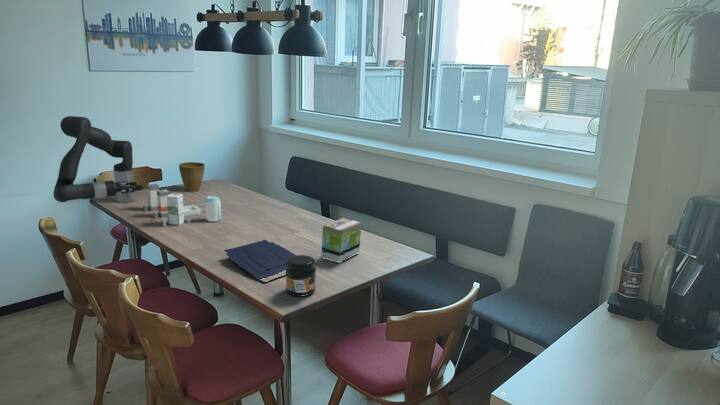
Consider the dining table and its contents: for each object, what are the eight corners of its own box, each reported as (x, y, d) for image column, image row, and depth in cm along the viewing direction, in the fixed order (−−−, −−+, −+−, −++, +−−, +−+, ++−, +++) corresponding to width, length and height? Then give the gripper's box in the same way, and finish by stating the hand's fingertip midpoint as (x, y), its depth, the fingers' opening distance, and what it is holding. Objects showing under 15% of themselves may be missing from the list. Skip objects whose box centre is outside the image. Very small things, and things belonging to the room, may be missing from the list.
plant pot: (175, 192, 304) (173, 165, 300) (187, 186, 319) (186, 161, 314) (198, 194, 302) (197, 167, 298) (209, 188, 316) (209, 163, 312)
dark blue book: (268, 244, 224) (269, 236, 222) (313, 273, 205) (314, 265, 204) (219, 257, 207) (219, 249, 205) (262, 290, 188) (263, 281, 187)
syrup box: (184, 222, 251) (183, 193, 248) (179, 225, 246) (177, 196, 242) (173, 221, 252) (171, 192, 248) (167, 224, 246) (166, 195, 242)
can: (203, 220, 255) (202, 197, 252) (213, 217, 261) (212, 194, 258) (213, 223, 252) (213, 199, 248) (223, 219, 258) (223, 196, 255)
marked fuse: (158, 215, 260) (156, 190, 256) (167, 213, 263) (165, 189, 259) (161, 217, 256) (160, 192, 253) (170, 216, 259) (169, 191, 256)
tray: (174, 212, 266) (174, 207, 265) (193, 209, 272) (193, 204, 272) (182, 217, 259) (182, 212, 258) (201, 214, 265) (201, 209, 265)
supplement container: (299, 300, 176) (300, 268, 173) (279, 290, 183) (279, 259, 179) (321, 291, 184) (322, 260, 180) (301, 282, 190) (302, 252, 187)
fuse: (148, 208, 270) (146, 184, 266) (157, 207, 273) (155, 183, 269) (151, 210, 267) (149, 186, 263) (160, 209, 270) (159, 185, 266)
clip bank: (136, 210, 265) (135, 206, 265) (165, 206, 275) (165, 202, 274) (159, 227, 242) (159, 222, 242) (190, 221, 252) (190, 217, 251)
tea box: (340, 264, 209) (341, 230, 205) (320, 258, 214) (321, 225, 210) (360, 254, 221) (361, 221, 217) (340, 248, 226) (342, 216, 222)
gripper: (107, 184, 231) (144, 180, 242) (98, 178, 242) (134, 175, 252) (108, 200, 233) (145, 196, 244) (99, 194, 243) (135, 190, 254)
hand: (139, 185), depth 248 cm, fingers open, 8 cm apart
